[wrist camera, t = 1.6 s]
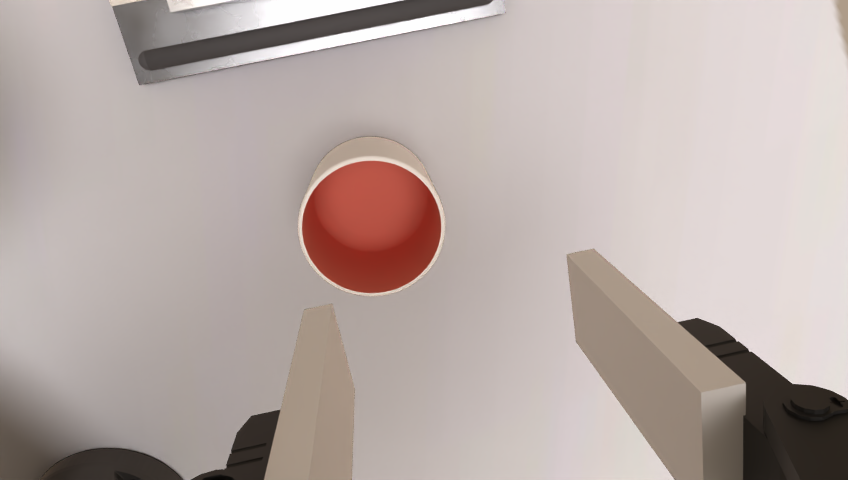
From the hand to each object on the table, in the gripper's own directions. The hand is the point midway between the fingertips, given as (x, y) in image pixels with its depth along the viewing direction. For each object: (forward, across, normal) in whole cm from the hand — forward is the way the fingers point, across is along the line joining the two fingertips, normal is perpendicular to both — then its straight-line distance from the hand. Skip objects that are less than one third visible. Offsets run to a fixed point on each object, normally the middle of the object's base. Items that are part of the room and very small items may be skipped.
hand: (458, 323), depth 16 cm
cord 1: (+32, -4, +9) cm, 33 cm away
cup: (+33, -3, -4) cm, 34 cm away
